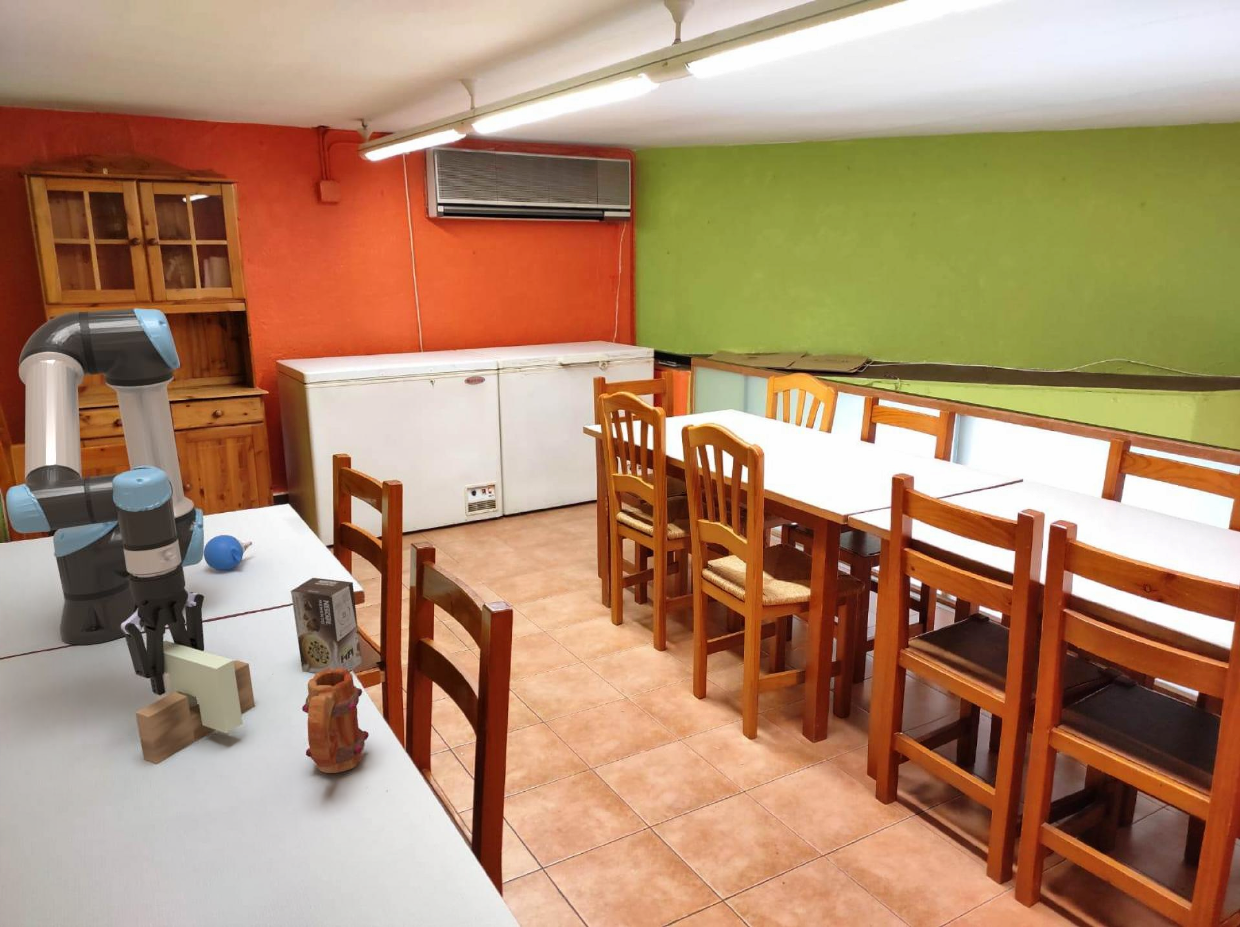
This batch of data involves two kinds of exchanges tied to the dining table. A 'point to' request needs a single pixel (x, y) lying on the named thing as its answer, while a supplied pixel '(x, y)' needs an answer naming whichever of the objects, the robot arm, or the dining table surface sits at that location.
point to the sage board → (205, 684)
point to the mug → (334, 721)
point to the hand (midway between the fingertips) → (178, 703)
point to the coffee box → (326, 625)
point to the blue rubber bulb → (224, 552)
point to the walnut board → (182, 719)
